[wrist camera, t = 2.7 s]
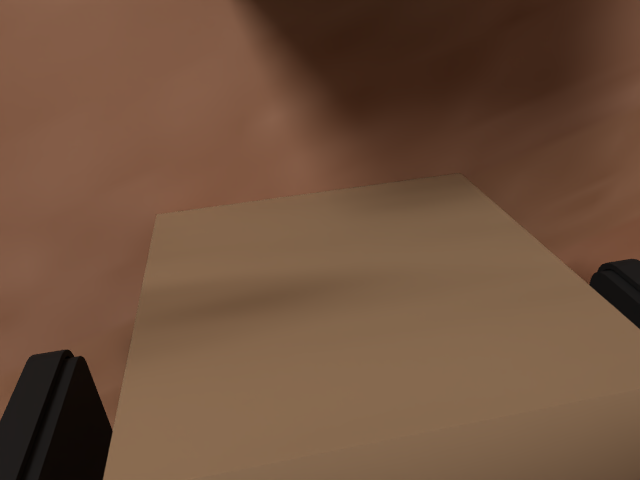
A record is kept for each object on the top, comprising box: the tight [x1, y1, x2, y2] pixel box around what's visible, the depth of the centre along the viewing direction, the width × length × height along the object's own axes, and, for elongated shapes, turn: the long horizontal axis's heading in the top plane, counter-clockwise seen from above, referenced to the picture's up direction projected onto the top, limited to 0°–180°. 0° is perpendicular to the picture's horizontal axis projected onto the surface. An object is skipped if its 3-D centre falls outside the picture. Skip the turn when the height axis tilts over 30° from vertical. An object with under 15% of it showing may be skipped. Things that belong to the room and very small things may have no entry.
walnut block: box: [103, 173, 640, 480], centre depth 9 cm, size 6×6×6 cm
